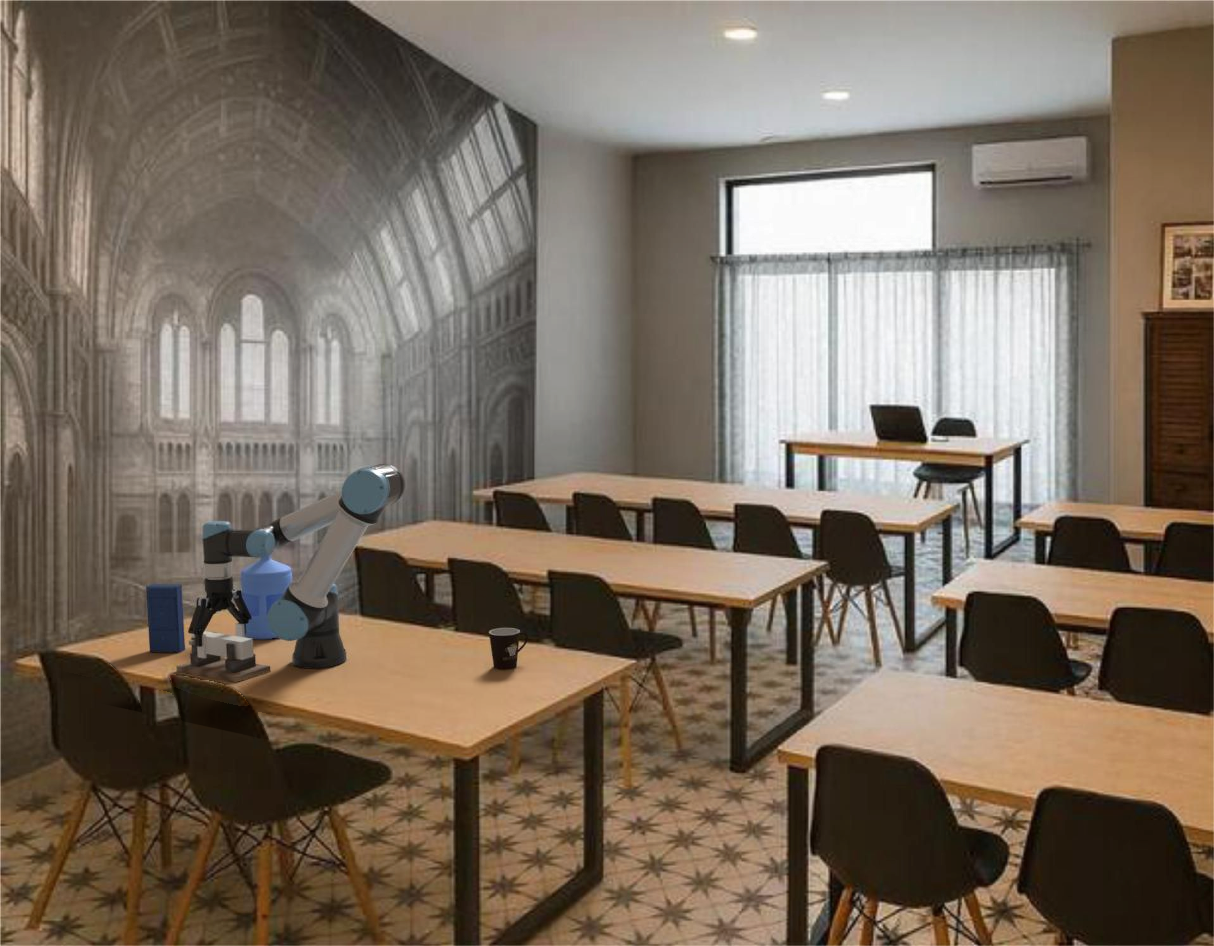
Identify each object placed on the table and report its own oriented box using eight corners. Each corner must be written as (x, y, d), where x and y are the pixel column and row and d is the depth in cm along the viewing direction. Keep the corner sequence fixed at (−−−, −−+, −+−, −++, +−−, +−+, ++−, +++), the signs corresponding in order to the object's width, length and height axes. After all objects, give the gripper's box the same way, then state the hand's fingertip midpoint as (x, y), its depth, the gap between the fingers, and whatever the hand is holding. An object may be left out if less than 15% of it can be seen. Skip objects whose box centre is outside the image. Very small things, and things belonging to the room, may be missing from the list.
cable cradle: (270, 671, 317) (268, 638, 316) (237, 682, 306) (235, 648, 305) (210, 660, 328) (209, 628, 327) (176, 671, 318) (174, 638, 317)
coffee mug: (492, 672, 313) (491, 636, 312) (487, 663, 321) (486, 629, 320) (534, 668, 316) (533, 633, 315) (527, 660, 324) (527, 626, 323)
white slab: (253, 656, 314) (252, 638, 313) (242, 659, 310) (241, 642, 310) (203, 648, 324) (202, 630, 323) (192, 651, 320) (191, 633, 320)
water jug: (250, 628, 367) (246, 543, 364) (299, 627, 368) (295, 542, 365) (237, 640, 351) (233, 551, 348) (288, 639, 352) (284, 550, 349)
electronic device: (186, 648, 343) (183, 583, 341) (178, 653, 338) (175, 587, 336) (156, 648, 344) (153, 583, 342) (148, 652, 339) (144, 587, 336)
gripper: (243, 568, 327) (246, 640, 329) (172, 583, 306) (175, 660, 308) (262, 570, 323) (265, 643, 326) (191, 586, 302) (194, 664, 304)
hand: (221, 651), depth 317 cm, fingers open, 13 cm apart
